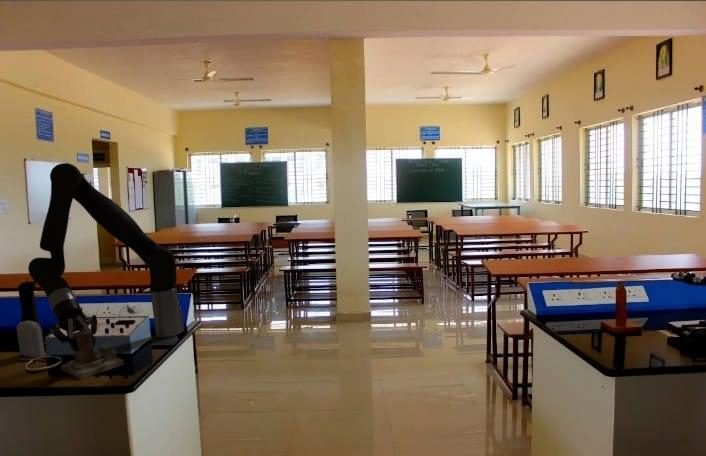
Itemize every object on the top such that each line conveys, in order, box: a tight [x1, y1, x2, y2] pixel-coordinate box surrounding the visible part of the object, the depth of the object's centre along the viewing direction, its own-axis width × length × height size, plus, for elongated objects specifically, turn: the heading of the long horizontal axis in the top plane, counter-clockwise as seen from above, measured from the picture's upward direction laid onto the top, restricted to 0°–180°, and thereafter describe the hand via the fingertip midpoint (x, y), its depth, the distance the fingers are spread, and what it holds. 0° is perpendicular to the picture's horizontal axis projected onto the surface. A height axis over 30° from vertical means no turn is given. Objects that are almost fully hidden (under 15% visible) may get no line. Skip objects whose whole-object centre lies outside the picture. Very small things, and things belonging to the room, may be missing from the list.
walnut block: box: [72, 330, 95, 364], centre depth 159 cm, size 4×5×9 cm
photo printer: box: [16, 321, 46, 358], centre depth 180 cm, size 10×4×12 cm, turn 60°
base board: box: [61, 342, 125, 380], centre depth 161 cm, size 13×15×6 cm
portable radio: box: [17, 277, 44, 336], centre depth 202 cm, size 8×6×25 cm
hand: (85, 347), depth 158 cm, fingers open, 4 cm apart
